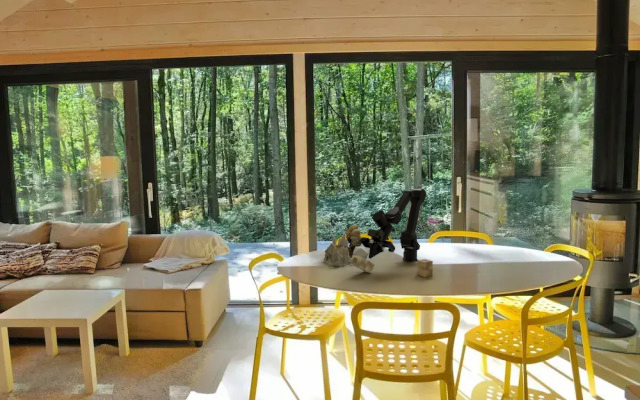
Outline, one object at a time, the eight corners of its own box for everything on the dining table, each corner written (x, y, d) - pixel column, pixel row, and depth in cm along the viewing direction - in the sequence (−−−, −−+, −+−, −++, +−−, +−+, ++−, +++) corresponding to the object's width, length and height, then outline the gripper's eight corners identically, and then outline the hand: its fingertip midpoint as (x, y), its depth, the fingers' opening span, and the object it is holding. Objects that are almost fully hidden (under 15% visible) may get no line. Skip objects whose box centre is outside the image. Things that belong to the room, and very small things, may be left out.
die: (363, 265, 239) (372, 249, 241) (349, 256, 240) (358, 241, 242) (362, 266, 247) (370, 251, 249) (348, 258, 248) (357, 243, 250)
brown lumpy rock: (367, 257, 254) (367, 227, 253) (346, 257, 254) (346, 227, 252) (364, 250, 272) (364, 222, 271) (344, 250, 272) (344, 222, 270)
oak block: (425, 273, 218) (425, 258, 218) (432, 275, 214) (432, 260, 213) (417, 274, 216) (417, 259, 215) (424, 276, 212) (424, 262, 211)
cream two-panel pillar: (367, 262, 224) (352, 254, 216) (374, 264, 221) (359, 256, 213) (364, 271, 223) (349, 263, 215) (371, 273, 219) (356, 265, 212)
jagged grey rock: (329, 257, 254) (329, 231, 251) (356, 261, 245) (356, 234, 243) (315, 265, 240) (314, 237, 238) (342, 270, 232) (342, 241, 230)
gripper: (362, 221, 230) (347, 245, 223) (391, 224, 216) (377, 251, 210) (372, 234, 236) (358, 258, 230) (401, 239, 223) (387, 264, 216)
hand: (369, 258), depth 221 cm, fingers closed
